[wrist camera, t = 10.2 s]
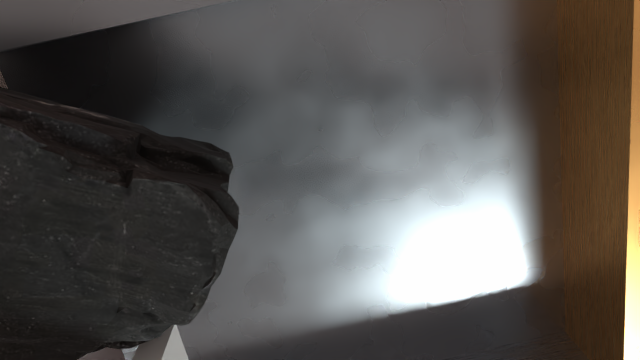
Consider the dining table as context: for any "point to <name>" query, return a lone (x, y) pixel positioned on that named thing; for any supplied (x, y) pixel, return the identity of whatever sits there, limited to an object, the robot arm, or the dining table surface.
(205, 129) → the grey hollow tray
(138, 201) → the rock
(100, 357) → the dining table surface
